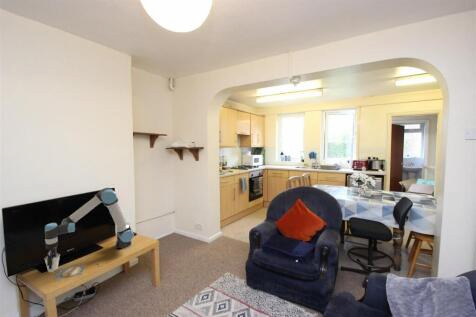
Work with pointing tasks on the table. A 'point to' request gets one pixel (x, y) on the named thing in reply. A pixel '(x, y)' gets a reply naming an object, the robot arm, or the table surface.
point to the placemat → (66, 269)
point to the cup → (55, 262)
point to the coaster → (71, 272)
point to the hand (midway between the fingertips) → (52, 269)
